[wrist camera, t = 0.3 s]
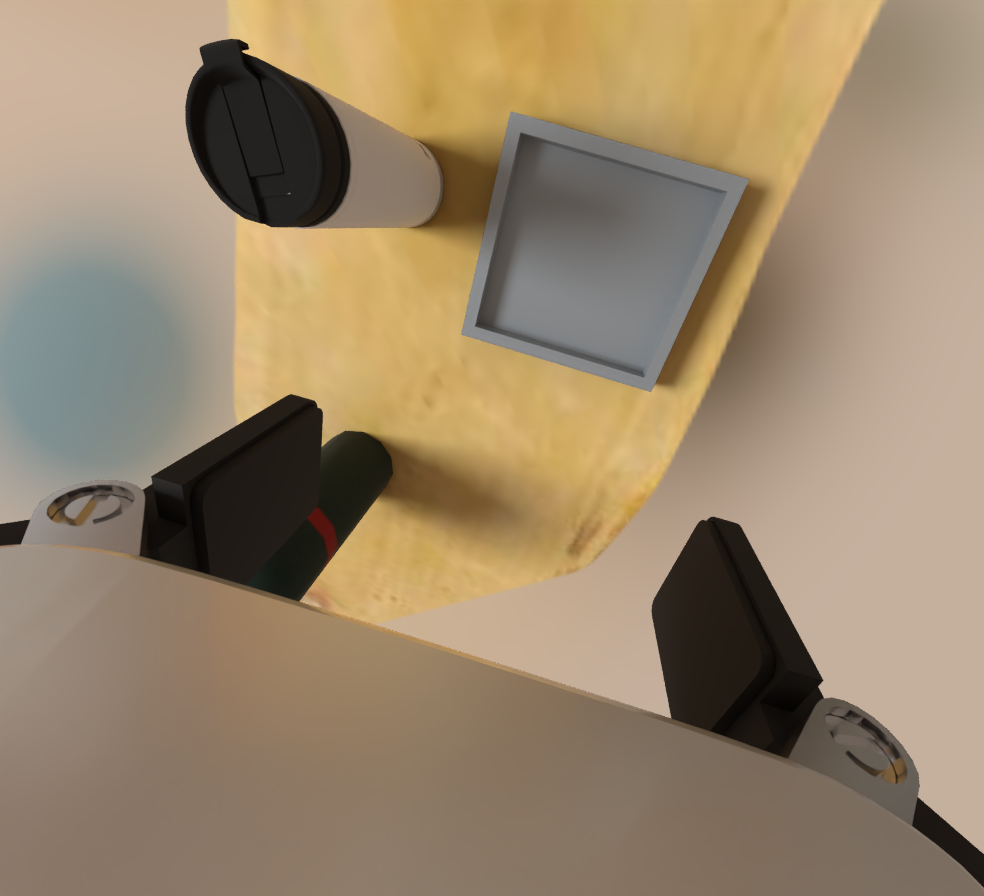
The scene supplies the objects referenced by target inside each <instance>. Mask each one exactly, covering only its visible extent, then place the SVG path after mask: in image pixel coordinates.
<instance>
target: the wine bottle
mask: <svg viewBox="0 0 984 896" xmlns="http://www.w3.org/2000/svg"><path fill="white" fill-rule="evenodd" d="M392 474H393V470H392V462H391V456H390V455H389V454H388V452H387V451H386V449H385V448H384V447H383V445H382V444H381V442H380V441H378V440H376V439H374V438H373V437H371V436H369V435H367V434H366V433H364V432H354V431H344V432H343V433H341V434H339V435H337V436H335V437H334V438H332V439H331V440H330V441H328V442H327V443H326V444H325V445H324V446H323V447H322V448H321V466H320V487H319V500H318V504H317V506H316V508H315V510H314V511H313V512H312V513H311V514H310V516H309V517H308V518H307V519H306V520H305V521H304V522H303V523H302V524H301V525H300V526H299V528H298V529H297V530H296V531H295V532H294V533H293V534H292V535H291V536H290V537H289V538H288V540H287V541H286V542H285V543H284V544H283V545H282V546H281V547H280V548H279V549H278V550H277V552H276V553H275V554H274V555H273V556H272V557H271V558H270V559H269V560H268V561H267V562H266V564H265V565H264V566H263V567H262V568H261V569H260V570H259V571H258V572H257V573H256V574H255V575H254V577H253V578H252V579H251V580H250V581H249V582H248V583H247V584H246V586H249V587H252V588H256V589H259V590H262V591H266V592H269V593H272V594H275V595H279V596H282V597H285V598H288V599H292V600H295V601H298V602H299V601H300V600H301V599H302V597H303V596H304V595H305V593H306V592H307V591H308V589H309V588H310V587H311V585H312V584H313V583H314V581H315V580H316V579H317V577H318V576H319V575H320V573H321V572H322V571H323V569H324V568H325V567H326V565H327V564H328V563H329V561H330V560H331V559H332V557H333V556H334V555H335V553H336V552H337V551H338V549H339V548H340V547H341V545H342V544H343V543H344V541H345V540H346V539H347V537H348V536H349V535H350V533H351V532H352V531H353V529H354V528H355V527H356V525H357V524H358V523H359V521H360V520H361V519H362V517H363V516H364V515H365V513H366V512H367V511H368V509H369V508H370V507H371V505H372V504H373V503H374V501H375V500H376V499H377V497H378V496H379V495H380V494H381V492H382V491H383V490H384V488H385V487H386V485H387V483H388V482H389V480H390V478H391V476H392Z"/></svg>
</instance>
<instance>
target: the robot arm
mask: <svg viewBox="0 0 984 896" xmlns="http://www.w3.org/2000/svg"><path fill="white" fill-rule="evenodd" d="M322 423H323V412H322V410H321V409H320V408H317V404H316V402H315V401H313V400H310V399H306V398H303V397H300V396H296V395H292V394H290V395H288V396H286V397H284V398H283V399H281V400H279V401H277V402H276V403H274V404H272V405H271V406H269V407H267V408H266V409H264V410H262V411H261V412H259V413H257V414H256V415H254V416H252V417H251V418H249V419H247V420H245V421H244V422H242V423H240V424H239V425H237V426H235V427H234V428H232V429H230V430H229V431H227V432H225V433H224V434H222V435H220V436H219V437H217V438H215V439H214V440H212V441H210V442H208V443H207V444H205V445H203V446H202V447H200V448H198V449H197V450H195V451H194V452H192V453H190V454H188V455H187V456H185V457H183V458H182V459H180V460H178V461H176V462H175V463H173V464H171V465H170V466H168V467H167V468H165V469H163V470H161V471H160V472H158V473H156V474H155V475H153V476H151V477H152V483H153V484H152V485H150V486H148V487H147V488H145V489H143V490H142V489H141V488H139V487H138V486H137V485H134V484H132V483H129V482H126V481H119V480H95V481H89V482H82V483H79V484H75V485H72V486H68V487H65V488H63V489H61V490H58V491H56V492H54V493H52V494H50V495H49V496H47V497H46V498H45V499H43V500H42V501H41V502H40V503H39V504H38V506H37V507H36V508H35V510H34V512H33V514H32V517H31V520H24V521H18V522H11V523H5V524H0V896H984V854H983V853H982V852H980V851H979V850H978V849H977V848H976V847H974V846H973V845H972V844H971V843H970V842H969V841H968V840H967V839H965V838H964V837H963V836H962V835H961V834H960V833H958V832H957V831H956V830H955V829H954V828H953V827H951V826H950V825H949V824H948V823H947V822H946V821H945V820H944V819H942V818H941V817H940V816H939V815H938V814H937V813H935V812H934V811H933V810H932V809H931V808H930V807H928V806H927V805H926V804H925V803H924V802H923V801H922V800H920V799H919V798H918V792H919V787H920V785H919V774H918V772H917V770H916V767H915V765H914V763H913V760H912V759H911V757H910V756H909V754H908V753H907V751H906V750H905V749H904V747H903V746H902V744H901V743H900V742H899V741H898V740H897V739H896V738H895V737H894V736H893V734H892V733H891V732H890V731H889V730H888V729H887V728H885V727H884V726H883V725H882V724H881V723H879V722H878V721H877V720H876V719H875V718H874V717H872V716H871V715H869V714H868V713H866V712H865V711H863V710H862V709H860V708H859V707H857V706H855V705H853V704H850V703H848V702H846V701H844V700H840V699H836V698H824V697H823V695H822V693H821V691H820V690H819V688H818V686H819V685H820V684H821V682H822V681H823V679H822V677H821V675H820V674H819V671H818V670H817V668H816V666H815V664H814V662H813V660H812V658H811V656H810V655H809V653H808V651H807V649H806V647H805V645H804V643H803V642H802V640H801V638H800V636H799V634H798V632H797V630H796V629H795V627H794V625H793V623H792V621H791V619H790V617H789V615H788V614H787V612H786V610H785V608H784V606H783V604H782V603H781V601H780V599H779V597H778V595H777V593H776V591H775V589H774V588H773V586H772V584H771V582H770V580H769V579H768V576H767V574H766V573H765V571H764V569H763V567H762V565H761V563H760V561H759V560H758V558H757V556H756V554H755V552H754V550H753V548H752V546H751V545H750V543H749V541H748V539H747V537H746V535H745V534H744V532H743V530H742V528H741V526H740V525H739V524H737V523H734V522H730V521H727V520H723V519H720V518H716V517H710V518H709V519H708V520H707V521H705V520H702V521H700V522H699V523H698V524H697V526H696V528H695V529H694V531H693V533H692V534H691V536H690V538H689V540H688V541H687V543H686V545H685V546H684V548H683V550H682V552H681V553H680V555H679V557H678V558H677V560H676V562H675V564H674V565H673V567H672V569H671V571H670V572H669V574H668V576H667V578H666V579H665V581H664V583H663V584H662V586H661V588H660V590H659V591H658V593H657V595H656V597H655V598H654V600H653V604H652V618H653V623H654V628H655V633H656V639H657V644H658V649H659V654H660V660H661V665H662V670H663V676H664V681H665V687H666V692H667V697H668V702H669V708H670V713H671V718H672V719H671V718H667V717H665V716H662V715H659V714H655V713H653V712H649V711H646V710H643V709H640V708H637V707H634V706H631V705H628V704H624V703H621V702H618V701H615V700H612V699H609V698H605V697H602V696H599V695H596V694H593V693H590V692H586V691H583V690H580V689H577V688H574V687H571V686H567V685H565V684H562V683H558V682H555V681H552V680H549V679H546V678H543V677H540V676H537V675H533V674H530V673H527V672H524V671H521V670H517V669H514V668H511V667H508V666H505V665H502V664H498V663H495V662H492V661H489V660H486V659H482V658H479V657H476V656H472V655H470V654H466V653H463V652H460V651H457V650H454V649H450V648H447V647H444V646H441V645H437V644H434V643H431V642H428V641H424V640H421V639H418V638H415V637H412V636H409V635H405V634H402V633H399V632H396V631H393V630H389V629H386V628H383V627H380V626H377V625H373V624H370V623H367V622H364V621H360V620H357V619H354V618H350V617H347V616H344V615H341V614H337V613H334V612H331V611H328V610H324V609H321V608H318V607H315V606H311V605H308V604H305V603H302V602H298V601H295V600H292V599H288V598H285V597H282V596H279V595H275V594H272V593H269V592H266V591H262V590H259V589H256V588H252V587H249V586H246V584H247V583H248V582H249V581H250V580H251V579H252V578H253V577H254V575H255V574H256V573H257V572H258V571H259V570H260V569H261V568H262V567H263V566H264V565H265V564H266V562H267V561H268V560H269V559H270V558H271V557H272V556H273V555H274V554H275V553H276V552H277V550H278V549H279V548H280V547H281V546H282V545H283V544H284V543H285V542H286V541H287V540H288V538H289V537H290V536H291V535H292V534H293V533H294V532H295V531H296V530H297V529H298V528H299V526H300V525H301V524H302V523H303V522H304V521H305V520H306V519H307V518H308V517H309V516H310V514H311V513H312V512H313V511H314V510H315V508H316V506H317V504H318V500H319V487H320V466H321V444H322Z"/></svg>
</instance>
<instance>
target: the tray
mask: <svg viewBox="0 0 984 896" xmlns="http://www.w3.org/2000/svg"><path fill="white" fill-rule="evenodd" d="M748 181H749V179H747V178H743V177H740V176H736V175H733V174H729V173H726V172H722V171H719V170H715V169H712V168H708V167H704V166H701V165H697V164H694V163H690V162H687V161H683V160H680V159H676V158H673V157H669V156H666V155H662V154H659V153H655V152H652V151H648V150H645V149H641V148H638V147H634V146H631V145H627V144H624V143H620V142H617V141H613V140H610V139H606V138H603V137H599V136H596V135H592V134H589V133H585V132H582V131H578V130H574V129H571V128H567V127H564V126H560V125H557V124H553V123H550V122H546V121H543V120H539V119H536V118H532V117H529V116H525V115H522V114H518V113H515V112H510V117H509V121H508V126H507V130H506V135H505V139H504V144H503V148H502V153H501V157H500V162H499V166H498V171H497V175H496V180H495V184H494V189H493V193H492V198H491V202H490V207H489V211H488V216H487V220H486V225H485V229H484V234H483V239H482V243H481V248H480V252H479V257H478V261H477V266H476V270H475V275H474V279H473V284H472V288H471V293H470V297H469V302H468V306H467V311H466V315H465V320H464V324H463V329H462V333H461V335H465V336H468V337H471V338H475V339H478V340H481V341H484V342H488V343H491V344H494V345H498V346H501V347H504V348H507V349H511V350H514V351H517V352H521V353H524V354H527V355H531V356H534V357H537V358H540V359H544V360H547V361H550V362H554V363H557V364H560V365H563V366H567V367H570V368H573V369H577V370H580V371H583V372H587V373H590V374H593V375H596V376H600V377H603V378H606V379H610V380H613V381H616V382H619V383H623V384H626V385H629V386H633V387H636V388H639V389H642V390H646V391H649V392H651V391H652V389H653V387H654V385H655V383H656V380H657V378H658V376H659V374H660V372H661V370H662V367H663V365H664V363H665V361H666V359H667V357H668V354H669V352H670V350H671V348H672V346H673V344H674V341H675V339H676V337H677V335H678V333H679V331H680V328H681V326H682V324H683V322H684V320H685V318H686V315H687V313H688V311H689V309H690V307H691V305H692V302H693V300H694V298H695V296H696V294H697V292H698V289H699V287H700V285H701V283H702V281H703V279H704V276H705V274H706V272H707V270H708V268H709V266H710V263H711V261H712V259H713V257H714V255H715V253H716V250H717V248H718V246H719V244H720V242H721V240H722V237H723V235H724V233H725V231H726V229H727V227H728V224H729V222H730V220H731V218H732V216H733V213H734V211H735V209H736V207H737V205H738V203H739V200H740V198H741V196H742V194H743V192H744V190H745V187H746V185H747V183H748Z"/></svg>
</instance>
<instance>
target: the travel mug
mask: <svg viewBox="0 0 984 896" xmlns="http://www.w3.org/2000/svg"><path fill="white" fill-rule="evenodd" d="M248 49H249V47H248V44H247V43H245V42H243V41H241V40H237V39H228V40H221V41H217V42H213V43H209V44H206V45H204V46H201V47H200V53H201V56H202V60H203V64H204V65H203V66H202V67H200V69H199V70H198V71H197V73H196V74H195V76H194V77H193V79H192V82H191V84H190V87H189V90H188V94H187V100H186V127H187V133H188V139H189V142H190V146H191V149H192V152H193V155H194V158H195V160H196V162H197V164H198V166H199V168H200V171H201V173H202V174H203V176H204V177H205V179H206V181H207V182H208V184H209V185H210V187H211V188H212V189H213V191H214V192H215V193H216V194H217V196H219V198H220V199H221V200H222V201H223V202H224V203H225V204H226V205H227V206H228V207H229V208H231V209H232V210H233V211H234V212H236V213H237V214H239V215H240V216H241V217H243V218H245V219H248V220H251V221H254V222H258V223H261V224H266V225H268V226H270V227H293V228H307V229H308V228H411V227H417V226H420V225H422V224H425V223H426V222H427V221H429V220H430V219H431V218H432V217H433V216H434V215H435V213H436V212H437V210H438V208H439V206H440V204H441V201H442V197H443V190H444V184H443V176H442V171H441V168H440V166H439V163H438V161H437V159H436V158H435V156H434V155H433V153H432V152H431V151H430V150H429V149H428V148H427V147H426V146H425V145H423V144H422V143H420V142H418V141H416V140H415V139H413V138H411V137H409V136H407V135H405V134H403V133H402V132H400V131H398V130H396V129H394V128H392V127H390V126H388V125H386V124H385V123H383V122H381V121H379V120H377V119H375V118H373V117H371V116H370V115H368V114H366V113H364V112H362V111H360V110H358V109H356V108H355V107H353V106H351V105H349V104H347V103H345V102H343V101H341V100H340V99H338V98H336V97H334V96H332V95H330V94H328V93H326V92H324V91H323V90H321V89H319V88H317V87H315V86H313V85H311V84H309V83H307V82H305V81H303V80H301V79H299V78H297V77H294V76H291V75H289V74H287V73H285V72H284V71H282V70H280V69H278V68H276V67H274V66H272V65H270V64H268V63H266V62H264V61H262V60H260V59H258V58H256V57H253V56H250V55H248V54H245V53H243V52H242V50H248Z"/></svg>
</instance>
